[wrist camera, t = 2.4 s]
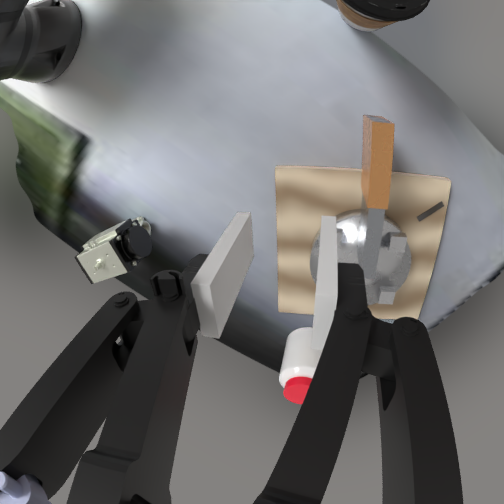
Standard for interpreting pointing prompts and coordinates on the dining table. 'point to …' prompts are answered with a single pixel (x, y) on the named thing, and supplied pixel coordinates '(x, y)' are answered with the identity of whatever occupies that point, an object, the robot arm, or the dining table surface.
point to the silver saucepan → (372, 221)
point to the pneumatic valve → (115, 250)
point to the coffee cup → (378, 12)
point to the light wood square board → (344, 199)
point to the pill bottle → (298, 364)
